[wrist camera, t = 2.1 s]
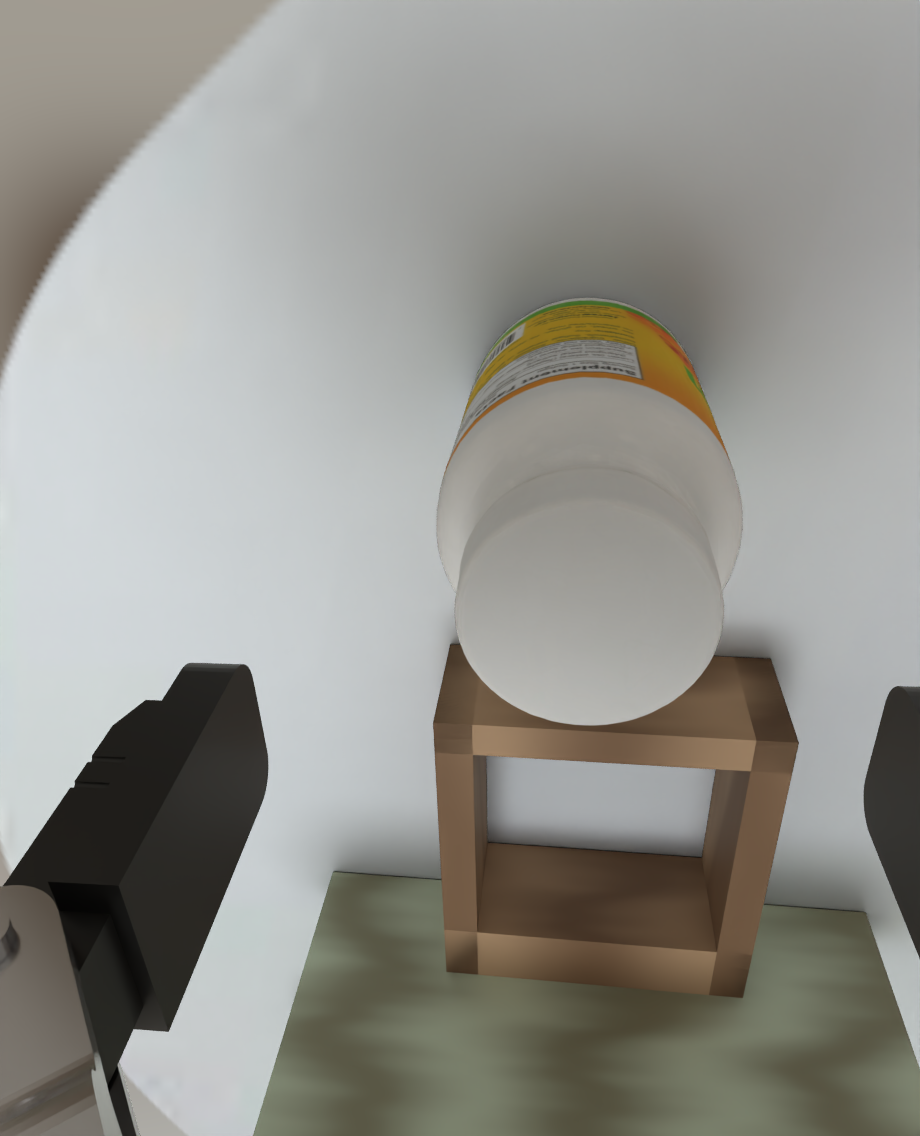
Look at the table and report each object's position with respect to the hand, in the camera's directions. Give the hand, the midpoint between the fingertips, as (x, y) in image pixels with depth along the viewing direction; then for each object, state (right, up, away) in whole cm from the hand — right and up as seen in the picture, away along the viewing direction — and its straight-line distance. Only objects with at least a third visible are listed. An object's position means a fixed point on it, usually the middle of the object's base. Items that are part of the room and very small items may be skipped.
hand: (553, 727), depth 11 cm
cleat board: (+3, -5, +16) cm, 17 cm away
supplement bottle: (+2, +6, +10) cm, 12 cm away
